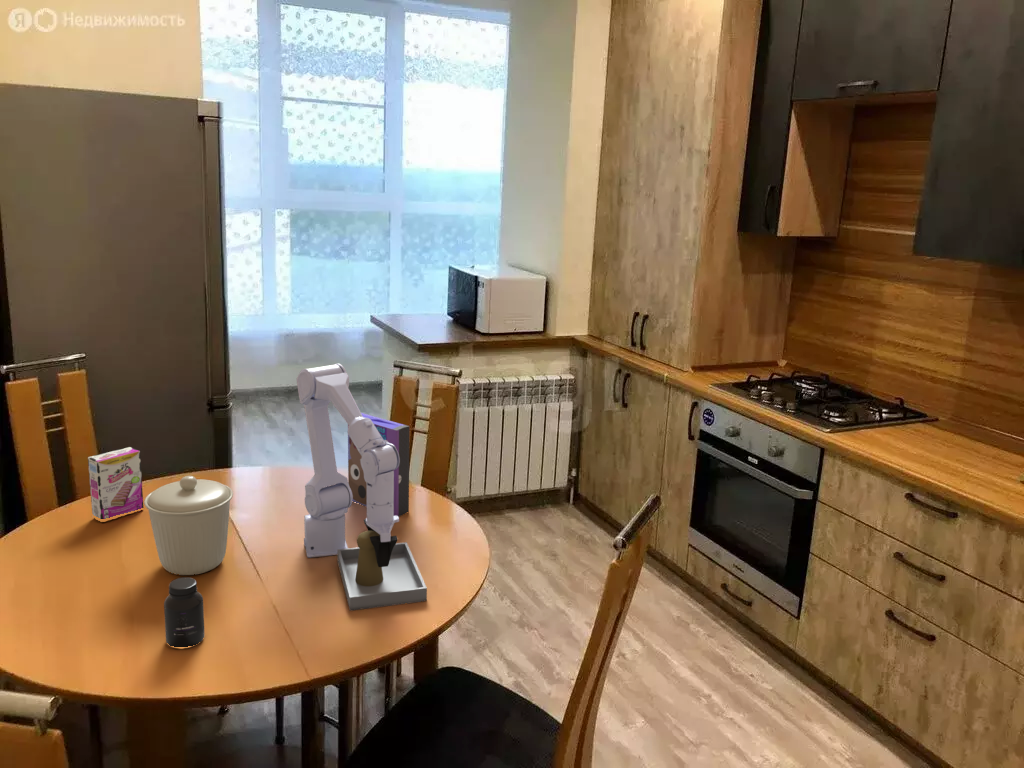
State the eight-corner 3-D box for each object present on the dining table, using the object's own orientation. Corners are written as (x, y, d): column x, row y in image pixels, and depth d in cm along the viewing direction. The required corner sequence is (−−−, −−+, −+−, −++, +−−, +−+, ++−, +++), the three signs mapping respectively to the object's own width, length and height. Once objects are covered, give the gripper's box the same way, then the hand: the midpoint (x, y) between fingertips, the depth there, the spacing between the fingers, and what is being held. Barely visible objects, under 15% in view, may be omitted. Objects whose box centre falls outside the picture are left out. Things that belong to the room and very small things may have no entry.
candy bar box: (102, 524, 199) (96, 461, 195) (92, 519, 202) (85, 457, 198) (145, 510, 208) (140, 450, 204) (134, 505, 211) (129, 445, 207)
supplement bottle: (181, 654, 149) (177, 596, 146) (158, 642, 152) (153, 585, 149) (213, 637, 154) (209, 581, 151) (189, 626, 158) (186, 570, 155)
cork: (360, 588, 173) (359, 541, 170) (351, 575, 178) (351, 529, 176) (387, 583, 176) (387, 536, 173) (378, 570, 181) (378, 525, 178)
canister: (135, 563, 181) (128, 475, 176) (212, 539, 194) (207, 456, 189) (172, 593, 169) (165, 500, 164) (251, 565, 182) (247, 478, 177)
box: (349, 610, 166) (349, 597, 165) (337, 561, 186) (337, 549, 185) (426, 600, 171) (426, 588, 170) (406, 553, 191) (406, 542, 190)
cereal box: (348, 500, 220) (347, 415, 213) (361, 495, 223) (360, 411, 217) (396, 517, 210) (396, 429, 204) (408, 512, 214) (409, 425, 208)
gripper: (405, 512, 168) (404, 571, 172) (392, 485, 181) (392, 541, 185) (371, 515, 166) (371, 575, 169) (360, 488, 179) (361, 544, 183)
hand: (380, 557), depth 177 cm, fingers open, 7 cm apart
